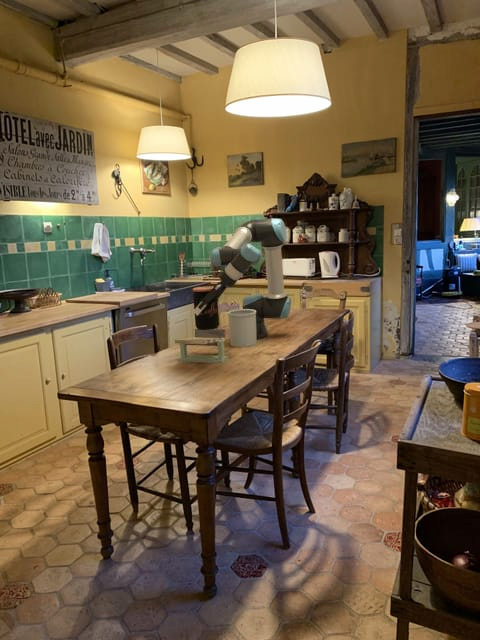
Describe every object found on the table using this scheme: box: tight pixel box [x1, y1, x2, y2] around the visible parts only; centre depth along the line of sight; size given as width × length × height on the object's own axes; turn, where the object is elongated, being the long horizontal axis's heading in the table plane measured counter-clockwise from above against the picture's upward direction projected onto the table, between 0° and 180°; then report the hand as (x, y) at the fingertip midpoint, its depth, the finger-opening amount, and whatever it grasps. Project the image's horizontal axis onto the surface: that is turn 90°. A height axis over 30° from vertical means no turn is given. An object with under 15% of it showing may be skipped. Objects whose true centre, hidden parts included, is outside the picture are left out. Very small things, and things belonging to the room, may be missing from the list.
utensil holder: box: [227, 308, 257, 348], centre depth 258 cm, size 15×15×18 cm
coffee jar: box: [192, 285, 220, 330], centre depth 220 cm, size 11×11×18 cm
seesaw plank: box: [174, 328, 226, 347], centre depth 231 cm, size 27×16×7 cm, turn 162°
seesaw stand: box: [177, 340, 228, 364], centre depth 233 cm, size 8×22×10 cm, turn 72°
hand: (200, 311), depth 221 cm, fingers closed on coffee jar, 11 cm apart
